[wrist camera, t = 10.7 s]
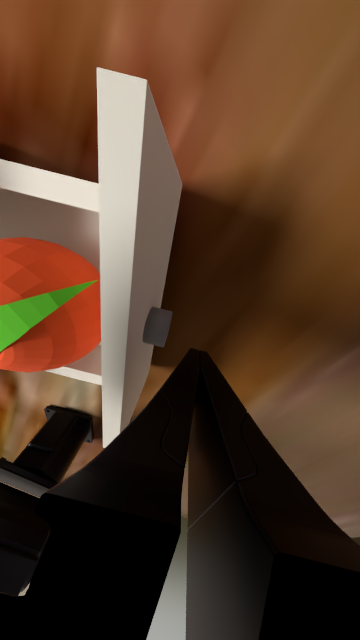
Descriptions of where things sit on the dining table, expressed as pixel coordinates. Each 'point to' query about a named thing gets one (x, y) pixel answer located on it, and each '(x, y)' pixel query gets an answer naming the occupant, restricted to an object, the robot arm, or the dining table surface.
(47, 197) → the drawer
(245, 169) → the dining table surface
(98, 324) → the clementine
